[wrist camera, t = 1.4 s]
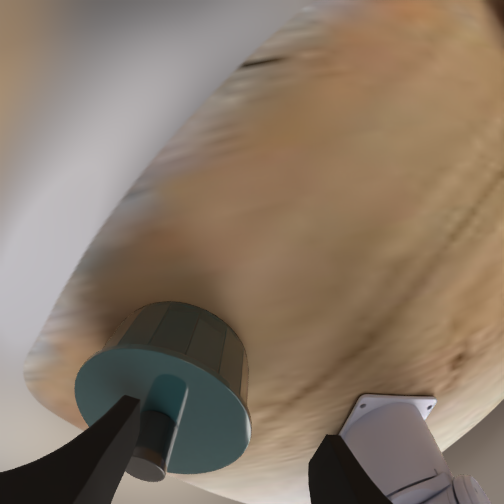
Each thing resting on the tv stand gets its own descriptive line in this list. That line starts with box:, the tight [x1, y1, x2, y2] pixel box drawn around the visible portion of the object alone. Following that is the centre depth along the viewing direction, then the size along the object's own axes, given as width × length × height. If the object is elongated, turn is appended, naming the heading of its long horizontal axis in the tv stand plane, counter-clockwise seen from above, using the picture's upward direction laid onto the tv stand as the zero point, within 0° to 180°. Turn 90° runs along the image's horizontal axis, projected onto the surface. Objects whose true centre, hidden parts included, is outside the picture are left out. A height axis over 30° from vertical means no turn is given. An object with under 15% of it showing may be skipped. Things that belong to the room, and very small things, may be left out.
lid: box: [75, 344, 252, 482], centre depth 14 cm, size 11×11×5 cm
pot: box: [102, 302, 249, 405], centre depth 19 cm, size 10×10×6 cm
